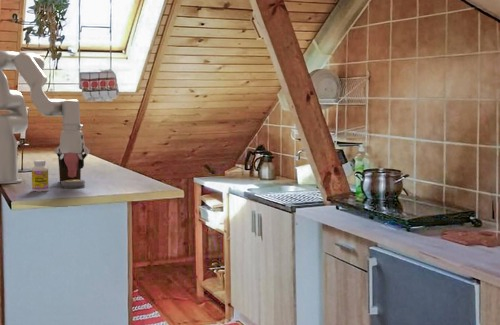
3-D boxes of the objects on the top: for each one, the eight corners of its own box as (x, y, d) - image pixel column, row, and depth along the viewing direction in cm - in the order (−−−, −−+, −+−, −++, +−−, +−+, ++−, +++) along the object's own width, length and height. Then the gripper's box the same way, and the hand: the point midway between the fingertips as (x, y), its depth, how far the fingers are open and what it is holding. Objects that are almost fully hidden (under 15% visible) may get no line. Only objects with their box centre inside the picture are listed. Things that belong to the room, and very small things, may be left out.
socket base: (56, 187, 282) (56, 181, 282) (69, 184, 292) (69, 178, 291) (77, 188, 279) (76, 182, 279) (88, 185, 289) (88, 179, 289)
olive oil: (70, 183, 295) (69, 128, 292) (53, 181, 300) (52, 128, 297) (86, 180, 305) (85, 127, 302) (69, 179, 309) (68, 127, 307)
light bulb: (84, 177, 286) (83, 150, 285) (72, 179, 280) (71, 151, 279) (73, 176, 290) (72, 149, 289) (61, 178, 284) (60, 150, 283)
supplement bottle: (32, 192, 270) (31, 161, 268) (31, 190, 276) (30, 160, 274) (49, 191, 272) (48, 161, 271) (47, 189, 278) (46, 159, 277)
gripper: (93, 127, 285) (94, 167, 287) (56, 127, 288) (57, 166, 289) (87, 128, 278) (88, 169, 280) (48, 128, 280) (50, 168, 282)
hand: (72, 167), depth 285 cm, fingers closed on light bulb, 7 cm apart
